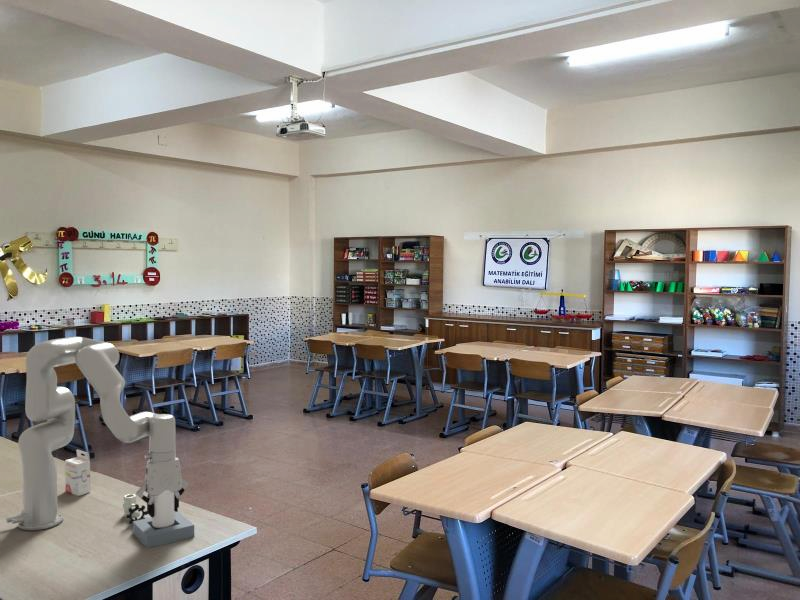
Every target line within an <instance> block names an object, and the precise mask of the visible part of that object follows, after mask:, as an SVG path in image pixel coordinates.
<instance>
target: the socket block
mask: <svg viewBox="0 0 800 600" xmlns="http://www.w3.org/2000/svg"><path fill="white" fill-rule="evenodd" d="M132 533H133V534H134V535H135V537H136V538H138V540H139V541H140V542H141V544H143V545H144V546H145V547H146V548H147V549H150V548H153V547H154V548H155V547H156V546H158V547H159V546H161V545H165V544H168V543H169V544H170V543H174V542H177V541H181V540H184V539H190V538H193V537H195V524H194V523H193V522H191V521H190V520H189V519H188V518H187V517H185V515H183V514H182V513H181V512H180V511H179V510H178V511H177V512H175V511H174V524H173V525H172V526H170V527H166V528H155V527H154V526H153V525H152V517H151V516H150V517H147V518H145V519H141V520H137V521H133V523H132Z"/></svg>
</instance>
